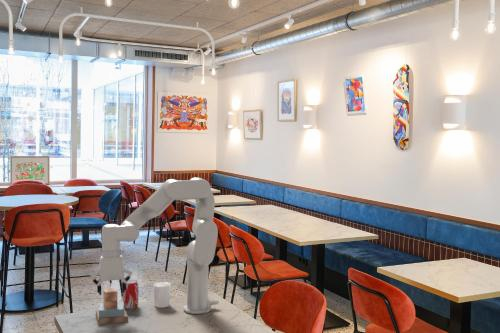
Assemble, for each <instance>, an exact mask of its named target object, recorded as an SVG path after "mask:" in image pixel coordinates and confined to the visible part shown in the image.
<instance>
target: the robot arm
mask: <svg viewBox="0 0 500 333" xmlns="http://www.w3.org/2000/svg"><path fill="white" fill-rule="evenodd" d="M188 200H195V210H194V216H193V221H192V227H191V229H192V230H191V231H192V233H193V234H194V235H195V239H194V240H191V241H190V242H189V243H188V245H187V246H186V253H185V254H186V264H187V266H186V267H187V268H186V269H187V272H186V277H187V279H186V280H187V281H186V282H187V284H186V304H185V305H184V306H183V311H184V312H185V313H188V314H192V315H193V314H194V315H201V314H202V315H203V314H206V313H209V312H211V311H212V305H214V306H215V305H216V306H217V305H219V300H218V299H210V298H209V265H210V264H211V263H212V262H213V260H214V259H215V258H214V257H215V254H216V248H217V242H218V237H219V236H218V235H219V234H218V233H219V230H218V226H217V224H216V223H215V221H214V216H215V215H214V214H215V207H216V205H215V204H216V201H215V196H214V194H213V191H212V186H211V184H210V182H209V181H208V180H206V179H204V178H201V177H198V176H197V177H196V176H195V177H192V178H190V179H189V180H181V179H180V180H178V179H175V178H170V179H167V180H165V181H164V182H163V183H162V184H161V185H160V186H159V187H158V188H157V189H156V190H155V191H154V192H153V193H152V194H151V195H150V196H149V197H148V198H147V199H146V200H145V201H144V202H143V203H141V205H140V206H138V207H137V208H135V210H133V211H132V212H131V213H130V214H129V215H128V216H127V217H126V218H125V219H124V220H123V221H122V222H121V224H120V225H119V224H116V223H109V224H105V225H103V226H102V228H101V247H102V248H101V251H102V252H101V254H102V255H101V256H100V258H99V264H98V265H99V266H98V270H97V271H95V272H93V273H92V274H90V277H89V278H91V280H92V282H93V283H94V284H95V285H96V286H97V289H96V290H97V291H96V292H97V294H98V295H99V296H101V295H102V285H101V284H102V283H103V282H107V281H109V282H110V281H111V282H112V281H119V280H121V281H122V282H121V292H122V294H123V293H125V290H126V283H127V281H128V280H131V276H132V275H133V272H132V271H131V270H129V269H127V268H124V267H125V266H124V259H123V255H122V254H124V253H125V250H124V249H121V242H125V243H126V242H127V243H132V242H135V241H136V240H138V239H139V237H140V229H141V228H142V227H143V226H144V225H145V224H146V223H147V222H148V221H150V220H152V219H154V218H157V217H158V216H160V215H162V213H163V212H164V211H165V210H166V209H167V208H168V207H169V206H170V205H171V204H172V203H173V202H174V201H188ZM125 274H127V276H126V277H125ZM97 276H98V280H97V279H96V278H95V277H97Z"/></svg>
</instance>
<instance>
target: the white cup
mask: <svg viewBox="0 0 500 333" xmlns="http://www.w3.org/2000/svg"><path fill="white" fill-rule="evenodd" d="M171 285H172V283H171V282H167V281H166V282H165V281H158V282H155V283H153V286H152V287H153V301H154V304H153V305H154V307H155V308H160V309H161V308H162V309H163V308H167V307H169V306H170V300H171V289H172V288H171Z"/></svg>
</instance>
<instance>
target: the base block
mask: <svg viewBox="0 0 500 333" xmlns="http://www.w3.org/2000/svg"><path fill="white" fill-rule="evenodd" d="M95 316H96V321H97V325H109V324H116V323H124V322H129V316H128V313H127V311H126V308H125V307H124V314H123V316H119V317H101V318H99V309H96V310H95Z"/></svg>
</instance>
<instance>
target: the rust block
mask: <svg viewBox="0 0 500 333" xmlns="http://www.w3.org/2000/svg"><path fill="white" fill-rule="evenodd" d="M117 302H118V290H117V288H115V287H112V288H104V289H103V303H104V307H105V309H110V308H117Z"/></svg>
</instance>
